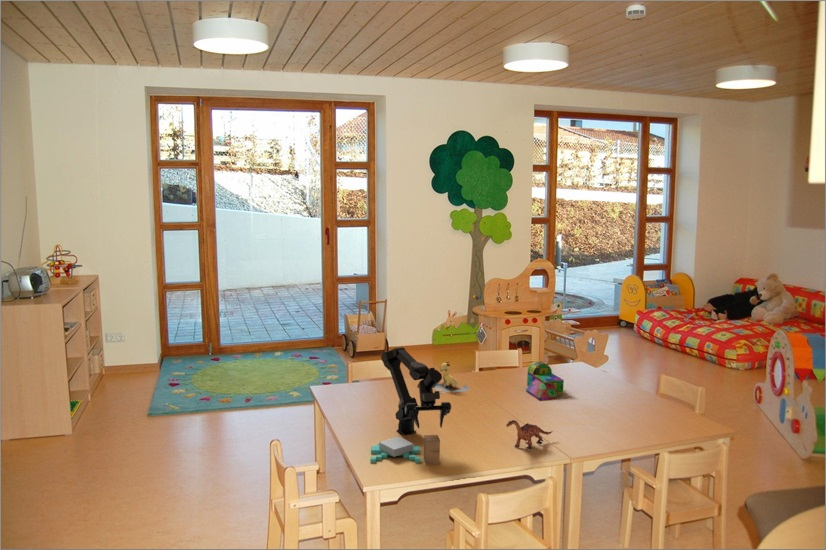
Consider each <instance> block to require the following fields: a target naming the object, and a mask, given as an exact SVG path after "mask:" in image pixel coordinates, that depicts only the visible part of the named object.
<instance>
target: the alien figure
mask: <svg viewBox="0 0 826 550" xmlns="http://www.w3.org/2000/svg"><path fill="white" fill-rule="evenodd" d="M420 450H421V449H420V445H414V443H413V451H411V452H408V453H405V454H401V455H398V457H403V459H409V461H414V464H415V463H416V464H417V463H420V464H421V461H422V459H421V456H416V455H415V454H420V452H421V451H420ZM370 454H371V455H373V454H376V455H375V456H370V458H369V460H370V464H373V463H375V464H376V463H377V461H382V459H388V457H392V456H391V455H390V454H388V453H386V452H384V451H382V450H380V449H379V443H376V445H371V447H370Z"/></svg>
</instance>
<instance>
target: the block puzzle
mask: <svg viewBox="0 0 826 550" xmlns="http://www.w3.org/2000/svg"><path fill="white" fill-rule="evenodd" d="M526 377H527V378H526V385H527V388H526V389H525V392H526V393H527V394H529V395H530V396H532V397H534V398H535V399H536V400H538V401H539V402H540V401H549V400H559V397H560V396H563V395H564V379H562V378H561V377H559V376H557V375H556V374H554V373H553V371H552V368H551V366H549V364H548V363H545V362H544V361H541V360H535V361H532V362H531V363H530V364H529V365H528V368H527V375H526Z"/></svg>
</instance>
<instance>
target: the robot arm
mask: <svg viewBox="0 0 826 550" xmlns="http://www.w3.org/2000/svg"><path fill="white" fill-rule="evenodd" d="M380 356H381V357H380V358H381V362H382V363H383V366H384V367H385V368H386V369H387V370H388V371H389V372H390V375H391V379H392V381H393V384H394V387H395V391H396V393H397V395H398V399H399V403H398V406H397V407H398V408H397V409H398V410H397V411H396V412H395V419H396V420H398V424H397V425H398V426H397V427H398V429H396V432H398V433H400V434H402V435H404V436H408V435H410V434H414V433H417V430H415V425H416V427H417V429H420V421H419V418H418V416H419V413H420V412H423V411H424V412H426V411H427V412H429V411H439V427H440V429H441V428H442V427H443V422H444V417H446V416H447V415H448V414H450V413H451V409H452V404H451V402H450V401H442V402H440V405H437V404H436V403H437V401H436V400H440V399H441V394H440V393H441V391H437V390H434V387H435V386H436V385H437V384H439V383H441V381H442V379H443V374H442V373H441V371H440V370H438V369H436V368H435V367H428V366H427V365H426V364H424V363H422V362H419V361H417V360H416V359H415V358H414V357H413V356H412V355H411V354H410V353H409V352H408V351H407V350H406V348H405V347H403V346H399V347H395V348H393V349H391V350H387V351H386V350H385V351H383V352H382V354H381V355H380ZM401 364H402V365H404V366H405V368H407V370H408V372H409V373H408V374H409V376H410V377H411V379H412V380H413V381H419V382H418V384H417V387H416V388H418V390H419V400H420V401H419V402H420V405H419V404H418V402H417V399H416V398H415V397H412V396H411V395H410V392H409V389H408V387H407V383H406V380H405V378H404V377H405V376H404V375H403V372H402V369H401Z"/></svg>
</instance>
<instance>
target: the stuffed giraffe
mask: <svg viewBox="0 0 826 550" xmlns="http://www.w3.org/2000/svg"><path fill="white" fill-rule="evenodd" d="M450 366H451V365H450V361H448V360H446V361H445V362H443V363H442V364H441V366H440V367H439V372H440V373H441V372H443V371H444V373H443V374H442V379H443V382H442V383H441V382H439V383H438V384H437V385H436V386H435V387H434V388H433V390H435V391H439V392H440V395H441V394H445V393H446V392H447V393H448V392H450V393H463V392H467V391H471V390H470V388H469V387H467V385H465V384H463V385H462V387H461V386H460V388H458V389H455V388H456V387H457V386H459V382H458V381H457V379H456V378H455V377H453V375H450V374H449V371H450ZM441 391H442V392H441Z"/></svg>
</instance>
